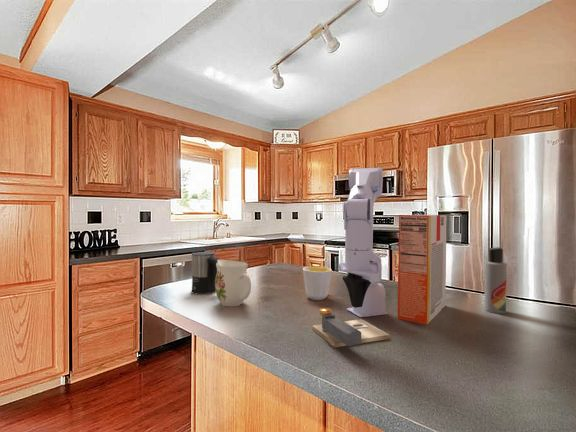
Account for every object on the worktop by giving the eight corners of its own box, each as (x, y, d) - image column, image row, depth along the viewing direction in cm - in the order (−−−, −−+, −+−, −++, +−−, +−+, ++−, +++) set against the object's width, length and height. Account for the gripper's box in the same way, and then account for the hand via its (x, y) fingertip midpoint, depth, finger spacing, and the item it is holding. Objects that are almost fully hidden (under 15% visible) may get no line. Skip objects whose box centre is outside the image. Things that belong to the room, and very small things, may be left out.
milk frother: (185, 293, 121) (185, 253, 121) (208, 284, 136) (208, 249, 136) (219, 296, 117) (219, 255, 116) (239, 287, 132) (239, 250, 131)
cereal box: (419, 301, 112) (421, 214, 112) (445, 305, 108) (446, 215, 107) (397, 318, 94) (399, 215, 94) (427, 324, 89) (428, 215, 89)
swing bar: (316, 323, 82) (316, 308, 82) (328, 322, 83) (328, 307, 83) (347, 346, 68) (347, 328, 68) (361, 343, 70) (361, 326, 70)
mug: (322, 303, 109) (322, 272, 108) (297, 298, 115) (297, 269, 114) (340, 295, 120) (341, 267, 120) (316, 291, 126) (317, 264, 125)
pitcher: (234, 314, 97) (235, 268, 97) (204, 301, 110) (204, 261, 110) (263, 306, 104) (263, 264, 104) (232, 296, 117) (232, 258, 117)
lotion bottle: (509, 314, 99) (510, 248, 98) (488, 313, 100) (489, 248, 100) (500, 308, 104) (501, 246, 104) (481, 307, 105) (482, 246, 105)
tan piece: (361, 322, 90) (361, 304, 90) (389, 338, 79) (389, 318, 79) (312, 329, 85) (312, 310, 85) (334, 347, 74) (334, 325, 74)
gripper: (327, 246, 82) (327, 300, 82) (360, 253, 68) (359, 317, 69) (352, 245, 85) (351, 297, 85) (387, 252, 71) (387, 314, 71)
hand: (356, 306), depth 77 cm, fingers closed
